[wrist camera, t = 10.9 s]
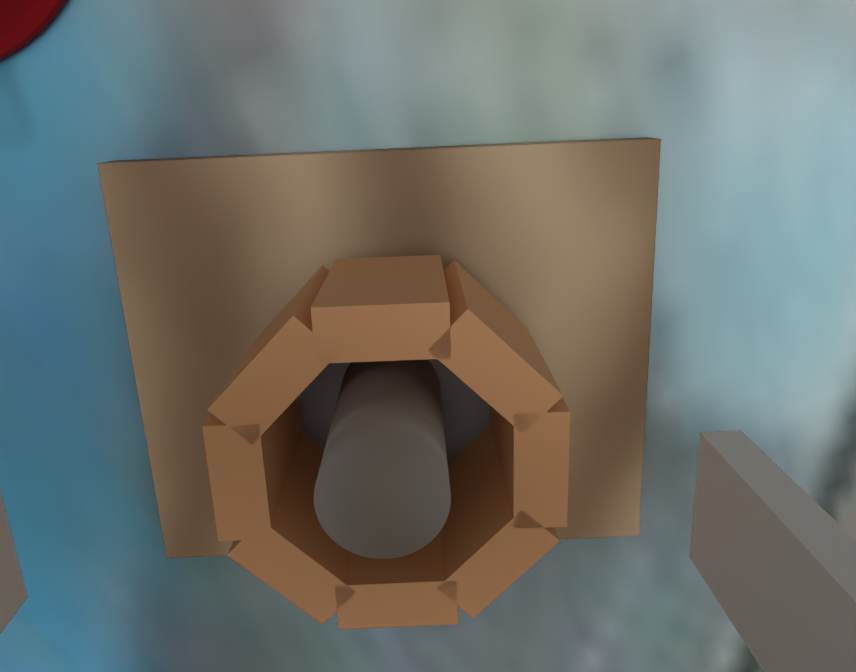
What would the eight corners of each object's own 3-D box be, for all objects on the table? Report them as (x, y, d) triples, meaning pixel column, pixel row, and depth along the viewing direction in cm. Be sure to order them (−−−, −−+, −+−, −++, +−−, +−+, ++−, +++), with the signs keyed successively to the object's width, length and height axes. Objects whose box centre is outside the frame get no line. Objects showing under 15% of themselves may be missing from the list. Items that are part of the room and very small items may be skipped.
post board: (178, 537, 25) (52, 765, 16) (114, 160, 21) (-95, 194, 13) (628, 516, 25) (743, 730, 17) (647, 137, 21) (810, 155, 13)
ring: (272, 517, 21) (231, 633, 17) (242, 262, 19) (185, 312, 14) (530, 506, 21) (564, 619, 17) (533, 251, 19) (573, 297, 14)
